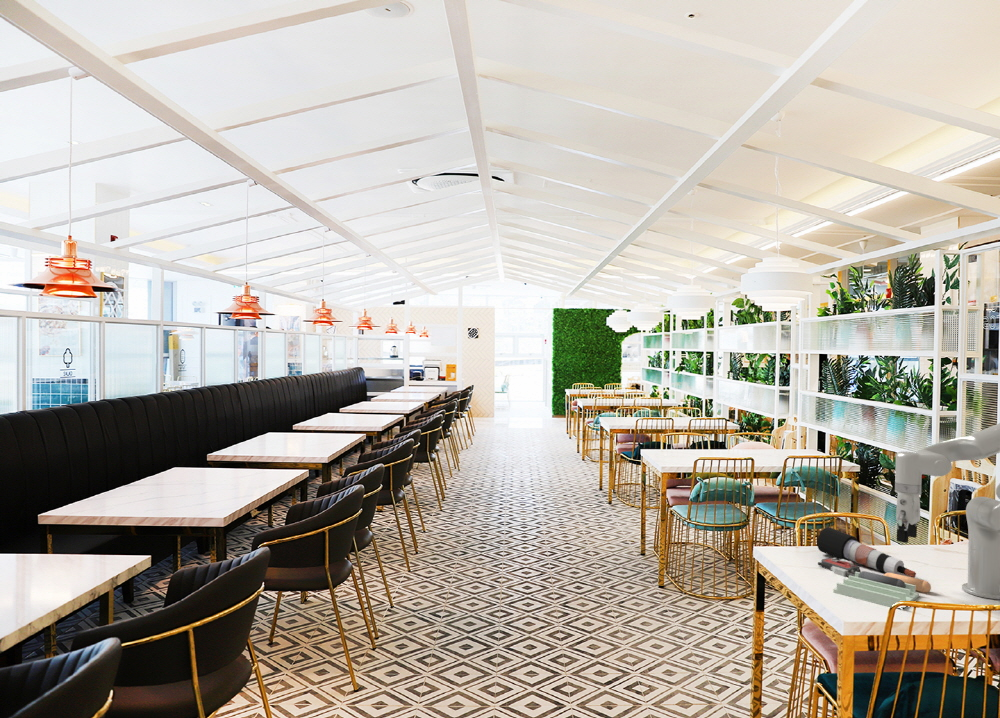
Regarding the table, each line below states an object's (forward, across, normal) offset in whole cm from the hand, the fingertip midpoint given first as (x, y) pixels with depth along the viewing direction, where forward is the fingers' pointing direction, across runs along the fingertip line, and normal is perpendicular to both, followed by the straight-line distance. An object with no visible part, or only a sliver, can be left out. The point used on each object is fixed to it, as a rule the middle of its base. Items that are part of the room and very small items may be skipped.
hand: (906, 539), depth 218 cm
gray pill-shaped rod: (+14, -9, +5) cm, 17 cm away
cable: (+17, +15, +17) cm, 28 cm away
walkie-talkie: (+17, +1, +19) cm, 26 cm away
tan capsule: (+15, 0, 0) cm, 15 cm away
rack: (+16, -14, +5) cm, 22 cm away
